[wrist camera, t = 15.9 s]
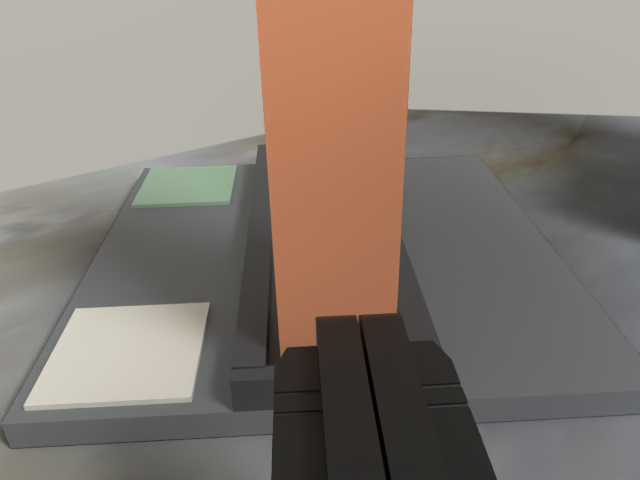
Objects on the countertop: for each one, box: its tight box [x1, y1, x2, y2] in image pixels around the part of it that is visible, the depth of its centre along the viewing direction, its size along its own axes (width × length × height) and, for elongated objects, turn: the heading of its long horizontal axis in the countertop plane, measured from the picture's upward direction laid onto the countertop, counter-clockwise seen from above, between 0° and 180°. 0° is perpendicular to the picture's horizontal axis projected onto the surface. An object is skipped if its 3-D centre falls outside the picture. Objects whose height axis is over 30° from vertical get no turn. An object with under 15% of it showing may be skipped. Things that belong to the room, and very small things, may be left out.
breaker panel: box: [1, 145, 640, 448], centre depth 26 cm, size 20×20×2 cm
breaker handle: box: [256, 0, 413, 357], centre depth 17 cm, size 4×4×14 cm
